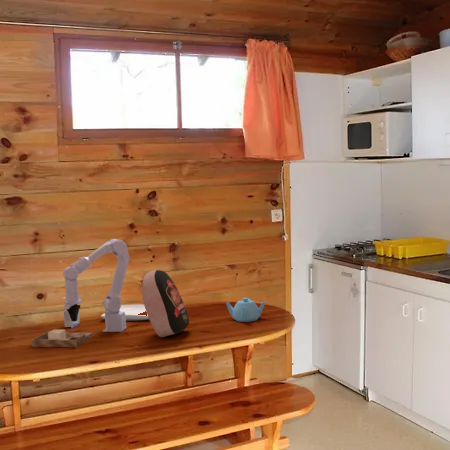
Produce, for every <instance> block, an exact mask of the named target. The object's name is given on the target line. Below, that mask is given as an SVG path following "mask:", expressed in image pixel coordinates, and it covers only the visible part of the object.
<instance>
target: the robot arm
mask: <svg viewBox="0 0 450 450" xmlns="http://www.w3.org/2000/svg"><path fill="white" fill-rule="evenodd" d="M112 253H113V254H114V255H115V256H116V258H117V263H116V267H115V270H114V274H113V278H112V282H111V286H110V289H109V290H108V292H107V294H106V297H105V298H104V299H103V303H102V305H103V307H104V308H105V310H104V313H105V319H104V323H105V328H104V329H103V330H102V332H104V333H107V332H108V333H109V332H111V333H114V332H115V333H117V332H118V333H120V332H121V333H122V332H123V331H125V330H126V329H127V320H126V315H125V313H124V312H120V308H121V305H122V304H121V300H122V297H121V296H122V295H121V292H122V290H123V289H122V288H123V285H124V281H125V277H126V274H127V269H128V266H129V262H130V253H129V250H128V245H127V244H126V243H125V241H124V240H122V239H116V238H112V239H110V240H108V241H106V242H105V243H104V244H102V245H101V246H99V248H97V249H96V250H94V251H93V252H92V253H91V254H89V255H88V256H82V257H81V256H80V257H78V260H77V261H75V262H73V263H71V264H70V266H67V267H65V268H64V269H63V271H62V275H63V277H64V289H65V300H66V301H64V305H63V307H64V308H63V309H64V310H65V311H66V310H67V311H68V313H69V315H70V318H71V321H77V317H78V312H79V313H80V310H81V303H82V298H80V297H79V285H78V277H79V275H81V274H82V273H83V272H85V271H86V270H88V269H89V268H90V267H91V266H92V263H93V262H94V261H96V260H97V259H99V258H101V257H102V256H104V255H105V254H112Z"/></svg>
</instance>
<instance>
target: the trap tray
mask: <svg viewBox="0 0 450 450" xmlns="http://www.w3.org/2000/svg"><path fill="white" fill-rule="evenodd" d="M50 331H52V329H49V330H48V331H46V332H44V333H42V334H41V335H39V336H37V337H35V338H33V339H31V347H32V348H40V347H41V348H77V347H78V346H80V345H82V344H83V343H85V342H87V341H88V340H90V339H91V338H92V337H94V335H93V332H65V333H66V340H48V332H50Z"/></svg>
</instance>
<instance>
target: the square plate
mask: <svg viewBox="0 0 450 450" xmlns="http://www.w3.org/2000/svg"><path fill="white" fill-rule="evenodd" d="M145 311H146V309H145V306H144V304H121V308H120V312H124V313H125V315H126V321H146V320H149V317H148V315H147V316H146V315H138V314H140V313H143V312H145ZM100 317H101V318H102V319H104V320H105V312H104V313H103V314H101V315H100Z"/></svg>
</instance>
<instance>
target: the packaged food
mask: <svg viewBox="0 0 450 450" xmlns="http://www.w3.org/2000/svg"><path fill="white" fill-rule="evenodd" d="M141 288H142V289H141V290H142V291H141V292H142V293H141V294H142V295H141V296H142V303H143V305H144V306H145V309H146V312H147V315H148V317H149V319H148V320H149V321H150V324H151V326H152V328H153V329H154V331H155V334H157V336H158V337H160V338H165V337H166V338H167V337H168V336H172V335H176V334H179V333H181V332H182V331H184V330H186V328H187V327H188V326H189V324H190V318H189V315H188V311H187V308H186V305H185V302H184V301H183V298H182V296H181V294H180V292H179V290H178V287H177V286H176V284H175V282H174V280H173V279H172V278H171V277H170V275H169V274H168V273H167V272H165V271H164V270H161V269H154V270H151V271H148V273H146V274H145V275H144V277H143V279H142V283H141Z"/></svg>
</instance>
